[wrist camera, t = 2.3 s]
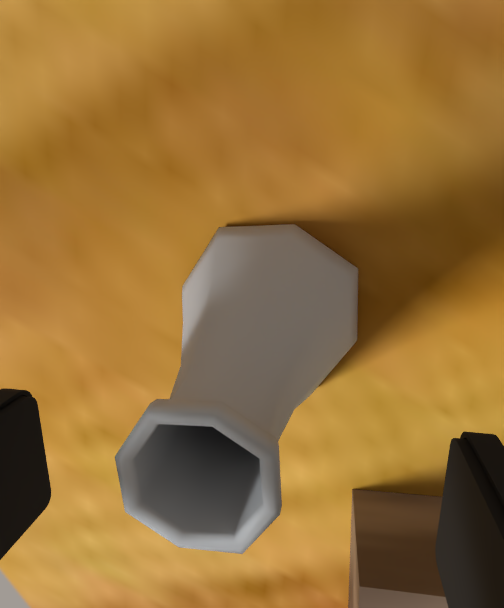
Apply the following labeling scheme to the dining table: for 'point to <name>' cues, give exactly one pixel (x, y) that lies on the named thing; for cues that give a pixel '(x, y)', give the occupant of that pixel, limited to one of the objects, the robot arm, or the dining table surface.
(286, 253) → the flask
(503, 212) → the dining table surface
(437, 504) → the walnut block
